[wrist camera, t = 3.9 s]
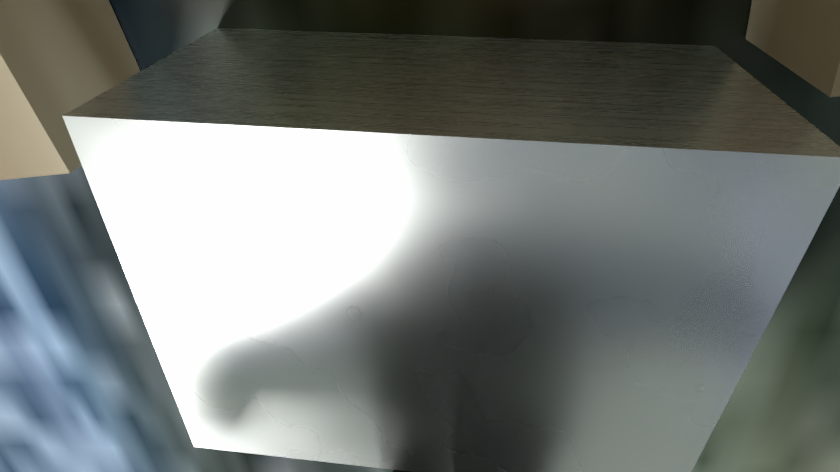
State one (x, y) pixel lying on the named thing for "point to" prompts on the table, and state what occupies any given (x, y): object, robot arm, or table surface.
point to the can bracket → (114, 62)
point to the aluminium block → (454, 242)
